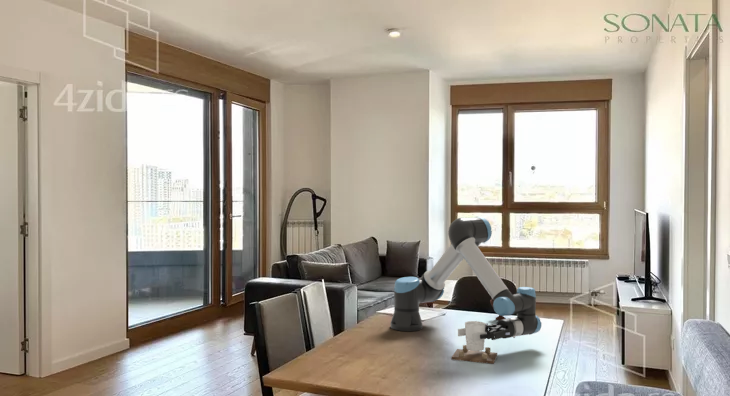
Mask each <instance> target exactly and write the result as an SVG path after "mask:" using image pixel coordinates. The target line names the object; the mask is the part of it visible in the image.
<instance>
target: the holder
mask: <svg viewBox="0 0 730 396" xmlns="http://www.w3.org/2000/svg"><path fill="white" fill-rule="evenodd" d="M497 357H498V352H493V351H491V347H488V346H487V347H484V351H483V350H482V351H471V350H468V349H467V348H466V344H463V345H462V348H457V349H456V350H455V352H454V353H453V354H452V356H451V360H453V361H460V362H461V361H462V362H471V363H472V362H473V363H481V364H490V365H494V363H496V359H497Z"/></svg>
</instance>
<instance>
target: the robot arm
mask: <svg viewBox="0 0 730 396" xmlns="http://www.w3.org/2000/svg"><path fill="white" fill-rule="evenodd" d="M492 233H493V232H492V225H491V223H490V222H489V220H488V219H487V218H485V217H480V216H474V217H473V216H471V217H458V218H455V220H453V221H452V222H451V224H450V225H449V227H448V234H447V235H448V238H449V241H450V245H449V246H448V248H447V249H446V250H445V252H444V253H443V254H442V255H441V256H440V257H439V259H438V260H437V262H436V263H435V264H434V266H433V267H432V268H431V269H430V270H426V271H425V272H424V273H423V274H422V275H421V277H420V278H418V277H416V276H404V277H400V278H397V279H396V280H395V281H394V287H393V291H394V292H393V293H394V295H393V296H394V298H393V299H394V304H393V305H394V309H393V310H394V311H393V314H392V318H391V320H390V328H391V329H392V330H394V331H400V332H416V331H420V330H422V329H423V326H424V325H423V320H422V318H421V315H420V304H423V303H424V304H425V303H431V302H435V301H438V300H439V299H441V297H442V296H444V293H445V287H446V284H445V283H446V281H447V280H448V279H449V277H450V276H451V275H452V273H453V272H454V271H455V270H457V268H458V267H459V265H460V264H461V263H462V261H463V260H465V262H466V263H467V265H468V266H469V268H470V269H471V270H472V271H473V274H474V275H475V276H476V277H477V279H478V281H480V284H481V285H482V286H483V288H484V289H485V290H486V292H487V293H488V294H489V296H490V297H491V299H493V300H494V303H493V307H494V308H493V307H492V308H493V310H494V312H495V313H496V314H497V315H498V316H499V315H500V316H503V317H506V316H511V315H515V314H516V317H508V318H506V319H502V320H497V322H496V323H493V324H489V323H487V322H486V323H485V332H479V333H473V334H472V341H477V340H483V339H485V340H490V339H491V340H492V341H495V340H499V339H509V338H513V339H515V338H516V337H520V336H528V335H529V336H530V335H533V334H536V333H539V332H540V330H541V328H542V322H541V319H540V317H539V316H538V315H537V312H536V309H537V308H536V307H537V306H536V305H537V304H536V303H537V295H536V288H534V287H529V286H519V287H517V289H516V293H514V294H513V293H512V292H511V291H510V289H509V288H508V287H507V285H506V284H505V283H504V281H503V279H501V277H500V276H499V274H498V273H497V272H496V270H495V269H494V267H493V266H492V264H491V263H490V262H489V261H488V259H487V258H486V256H485V255H484V254H483V252H482V251H481V249H480V248H479V246H480V245H481V244H485V243H486V242H488V241H489V240H490V239H491V237H492ZM457 336H458V337H463V336H465V337H466V335H465V327H464V328H458V329H457Z"/></svg>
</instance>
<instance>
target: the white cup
mask: <svg viewBox="0 0 730 396" xmlns="http://www.w3.org/2000/svg"><path fill="white" fill-rule="evenodd" d="M485 324H486V323H485V322H483V321H477V320H470V321H465V322H464V328H465V343H466V344H465V345H466V348H467V349H468V350H471V351H483V350H484V351H485V340H486V339H483V340H477V341H472V334H473V333H479V332H485Z"/></svg>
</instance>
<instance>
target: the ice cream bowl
mask: <svg viewBox="0 0 730 396" xmlns="http://www.w3.org/2000/svg"><path fill="white" fill-rule="evenodd" d="M489 302H490V306H491V307H492V308H493V309H494V307H493V303H494V300H493V299H492V298H491V299H490V300H489ZM502 319H507V317H506V316H500V315H498V316H497V317H495V321H496V320H497V321H499V320H502Z"/></svg>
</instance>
